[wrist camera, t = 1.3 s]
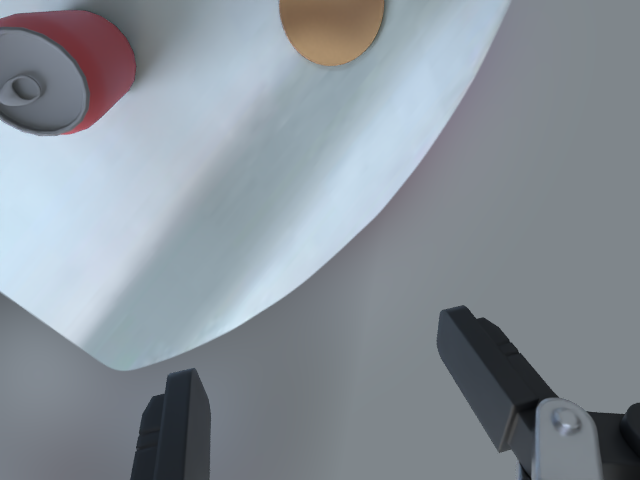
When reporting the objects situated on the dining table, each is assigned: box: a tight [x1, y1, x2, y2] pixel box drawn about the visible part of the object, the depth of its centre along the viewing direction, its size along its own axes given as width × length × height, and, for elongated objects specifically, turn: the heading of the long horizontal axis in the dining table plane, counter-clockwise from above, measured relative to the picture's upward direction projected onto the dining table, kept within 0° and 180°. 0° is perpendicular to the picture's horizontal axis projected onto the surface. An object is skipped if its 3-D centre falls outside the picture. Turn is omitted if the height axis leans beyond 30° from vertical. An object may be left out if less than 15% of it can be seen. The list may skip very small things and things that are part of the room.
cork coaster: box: [279, 0, 384, 66], centre depth 32 cm, size 9×9×1 cm
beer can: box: [0, 10, 136, 136], centre depth 26 cm, size 7×7×12 cm
